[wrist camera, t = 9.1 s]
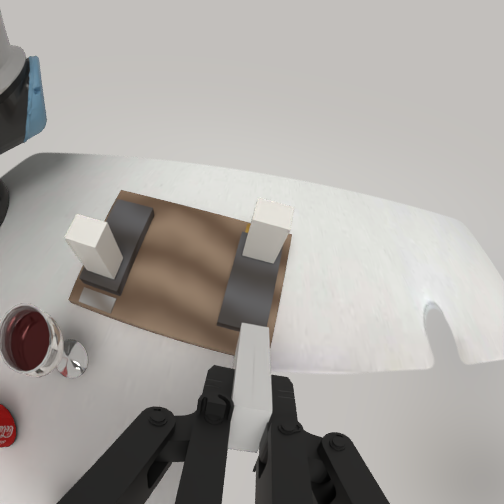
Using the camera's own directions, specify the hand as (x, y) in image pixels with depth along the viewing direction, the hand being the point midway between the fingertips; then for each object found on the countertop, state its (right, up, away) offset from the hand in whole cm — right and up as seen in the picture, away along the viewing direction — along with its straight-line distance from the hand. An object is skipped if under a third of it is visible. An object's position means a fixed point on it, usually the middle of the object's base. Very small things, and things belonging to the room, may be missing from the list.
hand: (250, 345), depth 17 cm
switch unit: (-9, +3, +23) cm, 25 cm away
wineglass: (-22, -8, +15) cm, 28 cm away
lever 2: (+1, +6, +22) cm, 23 cm away
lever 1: (-18, +4, +18) cm, 25 cm away
